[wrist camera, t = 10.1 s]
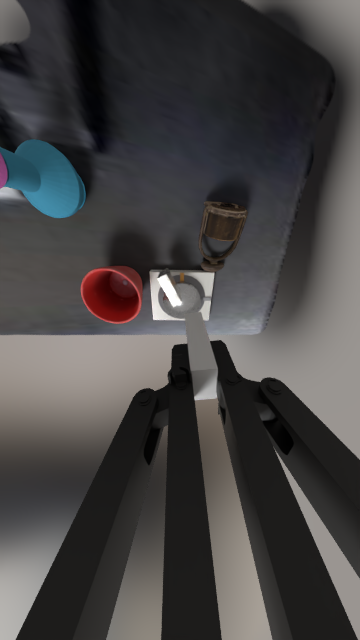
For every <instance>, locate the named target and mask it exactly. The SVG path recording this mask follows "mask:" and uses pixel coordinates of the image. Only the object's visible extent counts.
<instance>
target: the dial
mask: <svg viewBox="0 0 360 640" xmlns="http://www.w3.org/2000/svg"><path fill="white" fill-rule="evenodd" d="M157 280H158V281H159V283H160V285H161V286H162V288H163V290H164V292H165V293H164V296H163V306H164V309H165V311H166V312H167V313H168V314H169V315H170V316H172V317H174V318H178V319H185V314H186V313H196V312H197V311H198V309H199V307H200V304H201V299H200V295H199V292H198V290H197V288H196V287H195V286H194V285H193V284H191V283H189V282H186V281H178V282H175V280H174V278H173V276H172V274H171V272H170V271H169V269H168V268H166V269H164V270H162V271H160V273H159V275H158V278H157Z"/></svg>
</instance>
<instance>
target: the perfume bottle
mask: <svg viewBox="0 0 360 640" xmlns="http://www.w3.org/2000/svg"><path fill="white" fill-rule="evenodd" d="M2 187H9V188H14V189H18V190H21V191H22V192H23V194H24V195H25V197H26V198H27V199H28V200H29V202H30V203H31V204H32V205H33V206H34V207H36V208H37V209H38V210H39V211H41V212H42V213H44V214H46V215H48V216H51V217H54V218H65V217H69V216H71V215H73V214H74V213H76V212H77V211H78V210H79V209H80V208H81V207H82V206H83V205H84V203H85V199H86V191H85V187H84V184H83V182H82V180H81V178H80V176H79V175H78V174H77V172H76V170H75V169H74V167H73V166H72V164H71V163H70V162H69V160H68V159H67V158H66V157H65V156H64V155H63V154H62V153H61V152H60V151H58V150H57V149H56V148H55V147H53V146H52V145H50V144H48V143H47V142H44V141H41V140H34V139H32V140H27V141H25V142H23V143H22V144H21V145H20V146H19V147H18V148H17V150H16V152H15V154H14V153H12V152H10V151H7V150H5V149H3V148H1V147H0V188H2Z"/></svg>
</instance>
